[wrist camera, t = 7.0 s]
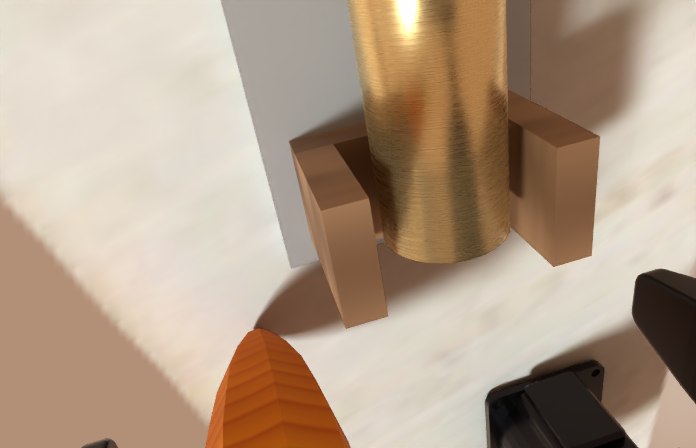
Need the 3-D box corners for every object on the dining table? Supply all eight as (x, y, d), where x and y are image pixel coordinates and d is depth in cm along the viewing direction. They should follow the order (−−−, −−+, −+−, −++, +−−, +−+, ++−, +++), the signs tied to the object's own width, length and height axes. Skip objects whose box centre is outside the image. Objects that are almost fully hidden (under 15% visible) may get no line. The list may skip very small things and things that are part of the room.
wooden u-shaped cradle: (506, 186, 22) (591, 255, 17) (311, 239, 21) (345, 328, 16) (505, 88, 20) (600, 136, 15) (288, 141, 19) (320, 211, 14)
